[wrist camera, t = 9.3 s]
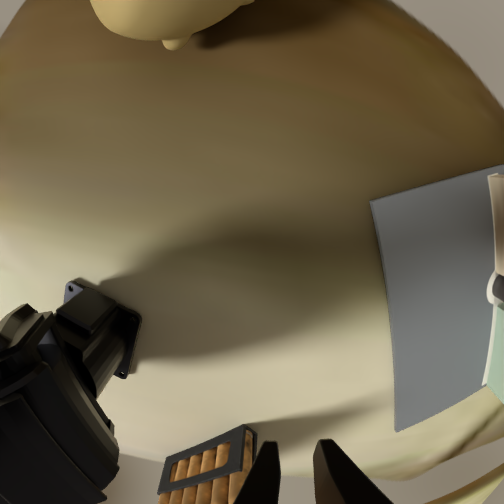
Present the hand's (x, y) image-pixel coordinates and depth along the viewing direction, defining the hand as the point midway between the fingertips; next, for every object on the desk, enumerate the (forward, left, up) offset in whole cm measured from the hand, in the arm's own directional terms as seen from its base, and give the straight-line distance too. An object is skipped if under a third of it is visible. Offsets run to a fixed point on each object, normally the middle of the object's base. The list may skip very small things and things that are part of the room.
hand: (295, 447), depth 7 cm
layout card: (+4, -15, -12) cm, 20 cm away
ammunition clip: (-17, -1, -12) cm, 21 cm away
